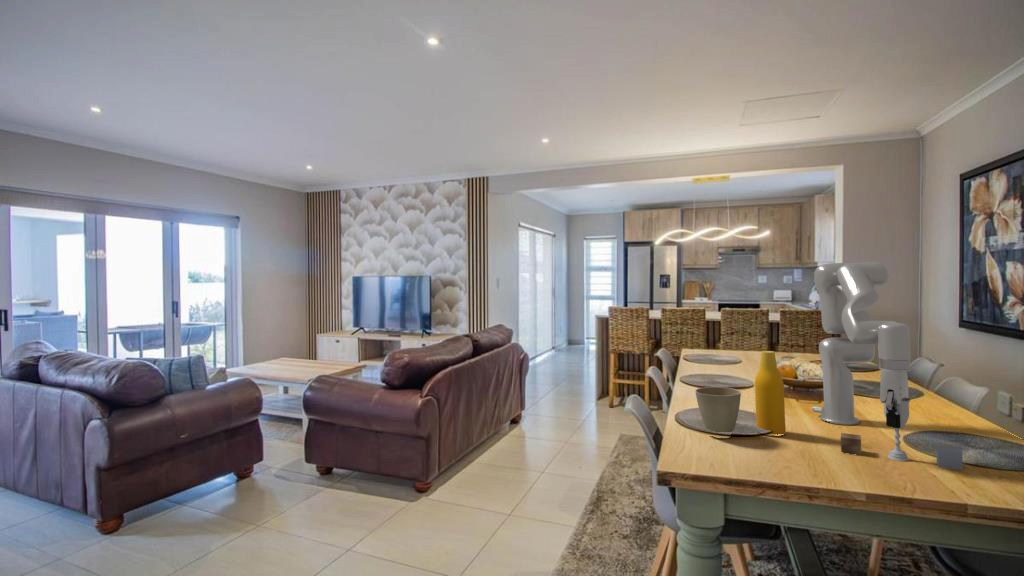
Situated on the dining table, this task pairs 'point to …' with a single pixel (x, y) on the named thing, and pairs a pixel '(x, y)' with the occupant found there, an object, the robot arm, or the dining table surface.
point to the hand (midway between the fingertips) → (896, 424)
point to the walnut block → (851, 443)
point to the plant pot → (718, 407)
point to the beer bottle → (769, 395)
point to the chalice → (904, 415)
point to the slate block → (949, 457)
